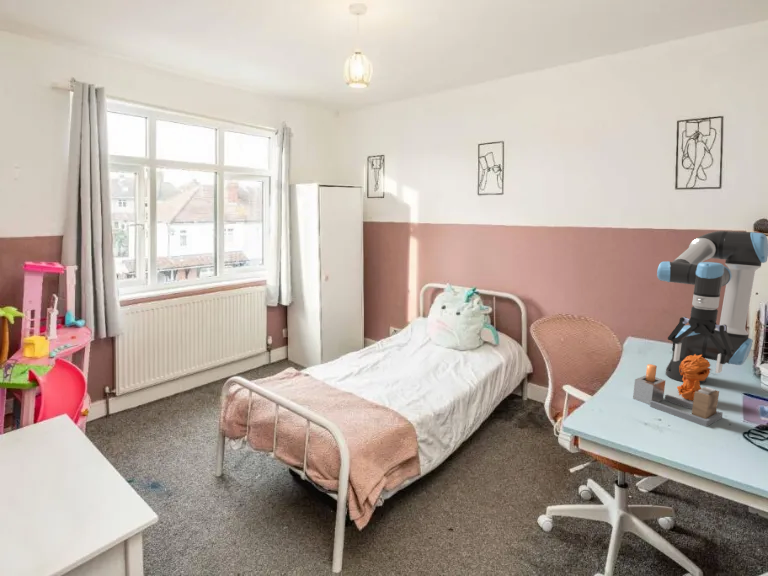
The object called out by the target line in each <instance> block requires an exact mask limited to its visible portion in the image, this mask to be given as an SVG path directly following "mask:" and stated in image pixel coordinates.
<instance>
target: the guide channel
mask: <svg viewBox="0 0 768 576" xmlns="http://www.w3.org/2000/svg"><path fill="white" fill-rule="evenodd" d="M664 401H665V402H666V401H667V402H670V403H672V404H675V405H678V406H681V407H684V408H687V409H689V410H692V408H693V402H691V401H690V400H689V401H688V400H686V399H682V398H680V397H676V396H673V395H669V394H664ZM649 407H651V408H653V409H656V410H659V411H661V412H664V413H667V414H669V415H673V416H674V417H675V416H676V417H679V418H681V419H684V420H687V421H689V422H692V423H695V424H697V425H700V426H704V427H706V428H707V427H708V426H710V425H711V424H714V423H715V422H718V421H719V420H721V419H722V418H723V412H722V411H719V410H716V414H714V415H713V416H711V417H709V418H707V419H704V418H701V417H698V416H695V415H692V413H690V412H687V411H683V410H681V409H678V408H675V407H672V406H669V405H666V404H663V403H660V402H655V401H651V403H650V405H649Z"/></svg>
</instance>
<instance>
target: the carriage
mask: <svg viewBox="0 0 768 576" xmlns="http://www.w3.org/2000/svg"><path fill="white" fill-rule="evenodd" d="M719 395H720V390H717V389H715V388H712V387H708V386H705V387H701V389H700V390H698V391H696V392H695V393H694V400H693V402H692V403H693V408H692V409H691V414H692V415H695V416H698V417H701V418H704V419H707V418H709V417H711V416H713V415H714V414H716V411H718V410H717V409H718V402H719Z"/></svg>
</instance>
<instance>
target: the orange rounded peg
mask: <svg viewBox="0 0 768 576" xmlns="http://www.w3.org/2000/svg"><path fill="white" fill-rule="evenodd" d="M656 374H657V365H655V364H653V363H652V364H650V363H648V364H647V365H646V371H645V375H646V379H645V380H646V381H649V382H655V377H656Z"/></svg>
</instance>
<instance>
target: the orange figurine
mask: <svg viewBox="0 0 768 576" xmlns="http://www.w3.org/2000/svg"><path fill="white" fill-rule="evenodd" d="M701 356H702V355H698V356H697V355H696V354H694V356H692V355H690V356H687V357H686V358H685V359H684V360H683V361H682V362H681V364H680V366H679V368H680V369H679V372H680V370H681V371H682V372H680V374H681V375H683V379H682V380H683V382H682V384H681V385H678V386H677V387H676V388H677V393H678V396H679V397H680V396H681V397H682V398H683V399H684V400H687V401H688V400H689V401H693V400H694V393H695V392H696V391H698V390H700V389H702V387H701V383H700V382H699V381H703V380H705V379H706V380H707V378H708V377H709V375H710V373H711V370H712V368H710V366H711V363H710V361H709V359H706V358H703V357H701Z"/></svg>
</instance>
